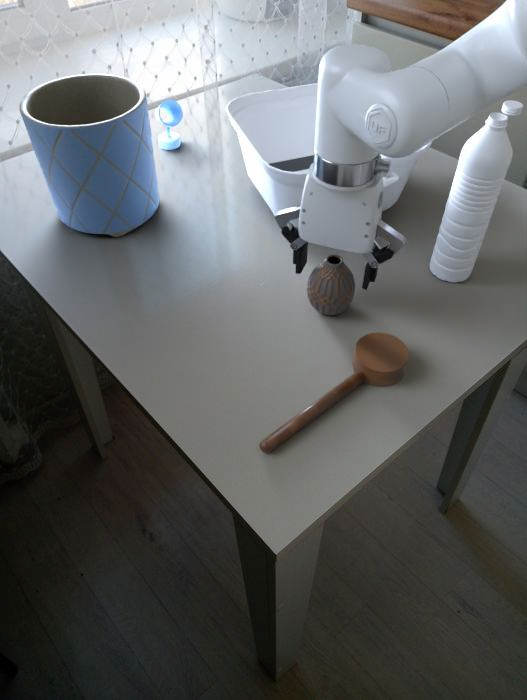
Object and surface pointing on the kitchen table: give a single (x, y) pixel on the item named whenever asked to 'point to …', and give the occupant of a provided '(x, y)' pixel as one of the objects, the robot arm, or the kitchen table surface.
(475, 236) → the water bottle
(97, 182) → the planter
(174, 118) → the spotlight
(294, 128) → the white plastic wash basin
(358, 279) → the kitchen table surface
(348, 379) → the ladle
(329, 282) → the vase
